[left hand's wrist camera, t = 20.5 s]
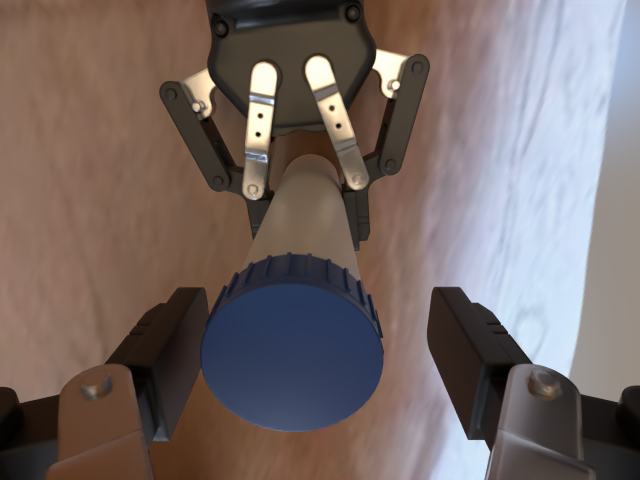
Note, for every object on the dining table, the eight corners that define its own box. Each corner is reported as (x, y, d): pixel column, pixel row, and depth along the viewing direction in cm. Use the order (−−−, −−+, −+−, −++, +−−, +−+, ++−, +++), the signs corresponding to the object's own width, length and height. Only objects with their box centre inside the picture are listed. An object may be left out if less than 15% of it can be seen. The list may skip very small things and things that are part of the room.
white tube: (275, 164, 27) (186, 304, 9) (328, 145, 27) (345, 254, 9) (294, 215, 29) (251, 422, 11) (345, 198, 28) (391, 385, 10)
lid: (398, 360, 11) (411, 403, 9) (259, 406, 12) (249, 454, 10) (341, 225, 9) (345, 251, 8) (184, 286, 10) (159, 321, 9)
